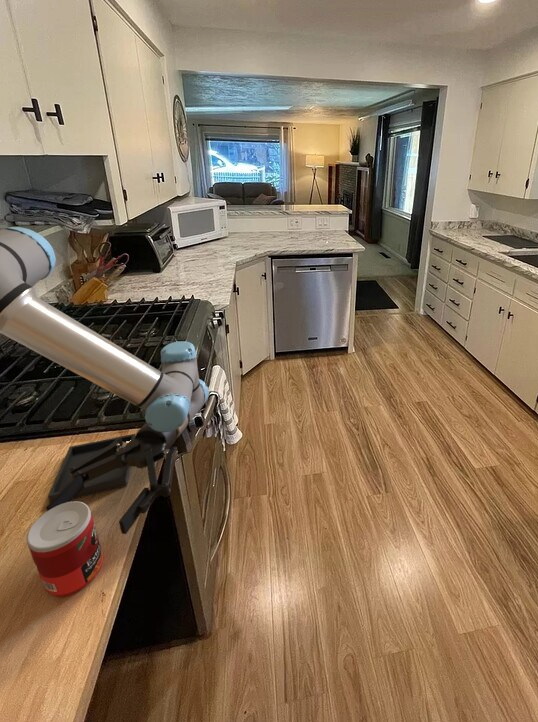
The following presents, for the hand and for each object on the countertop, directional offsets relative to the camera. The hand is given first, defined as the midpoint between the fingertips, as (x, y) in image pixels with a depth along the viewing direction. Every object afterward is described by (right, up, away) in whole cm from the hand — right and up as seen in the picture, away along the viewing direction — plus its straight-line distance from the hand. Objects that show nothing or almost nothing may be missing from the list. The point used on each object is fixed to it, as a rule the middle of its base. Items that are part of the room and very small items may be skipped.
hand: (85, 520), depth 59 cm
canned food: (-1, -8, -1) cm, 8 cm away
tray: (-9, 0, +18) cm, 20 cm away
